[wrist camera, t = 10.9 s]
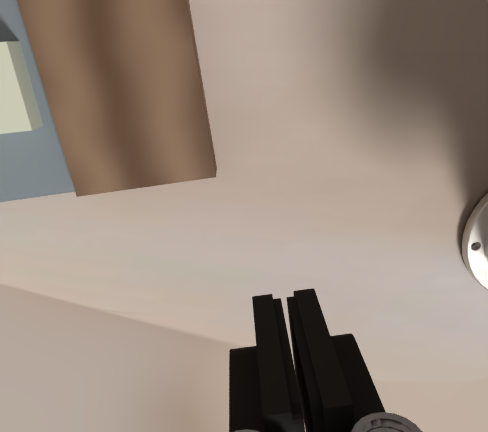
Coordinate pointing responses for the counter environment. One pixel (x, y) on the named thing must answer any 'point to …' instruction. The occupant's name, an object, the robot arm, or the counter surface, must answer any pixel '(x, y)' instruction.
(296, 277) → the counter surface
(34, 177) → the slate mat
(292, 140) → the counter surface
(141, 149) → the walnut deck
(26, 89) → the sage tile
